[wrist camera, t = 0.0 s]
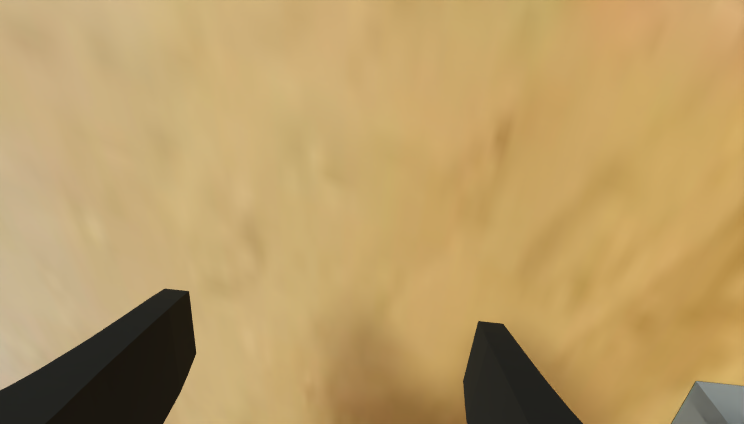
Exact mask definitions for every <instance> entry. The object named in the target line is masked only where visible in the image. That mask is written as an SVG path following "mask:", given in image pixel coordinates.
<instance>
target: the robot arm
mask: <svg viewBox="0 0 744 424" xmlns="http://www.w3.org/2000/svg"><path fill="white" fill-rule="evenodd" d="M195 355H196V347H195V338H194V330H193V321H192V313H191V304H190V296H189V291H182V290H172V289H163V290H162V291H160V292H159V293H157V294H155V295H154V296H152V297H151V298H149V299H148V300H146V301H145V302H143V303H142V304H140V305H139V306H138V307H136V308H135V309H133V310H132V311H130V312H129V313H127V314H126V315H124V316H123V317H121V318H120V319H118V320H117V321H115V322H114V323H112V324H111V325H109V326H108V327H106V328H105V329H103V330H102V331H100V332H99V333H97V334H96V335H94V336H93V337H91V338H90V339H88V340H86V341H85V342H83V343H82V344H80V345H78V346H77V347H75V348H73V349H72V350H70V351H68V352H67V353H65V354H64V355H62V356H60V357H59V358H57V359H55V360H54V361H52V362H50V363H49V364H47V365H45V366H44V367H42V368H41V369H39V370H37V371H35V372H34V373H32V374H30V375H28V376H26V377H25V378H23V379H21V380H19V381H17V382H16V383H14V384H12V385H10V386H8V387H6V388H4V389H2V390H0V424H163V423H164V421H165V419H166V418H167V416H168V414H169V412H170V410H171V408H172V407H173V405H174V403H175V401H176V399H177V398H178V396H179V394H180V392H181V390H182V387H183V385H184V383H185V380H186V378H187V376H188V373H189V371H190V368H191V365H192V363H193V360H194V358H195ZM463 384H464V397H465V409H466V419H467V424H583V423H582V422H581V421H580V420H579V419H578V418H577V417H576V415H575V414H574V413H573V412H572V411H571V410H570V409H569V408H568V406H567V405H566V404H565V403H564V402H563V401H562V399H561V398H560V397H559V396H558V394H557V393H556V392H555V391H554V389H553V388H552V387H551V386H550V385H549V383H548V382H547V381H546V380H545V378H544V377H543V376H542V375H541V373H540V372H539V371H538V369H537V368H536V367H535V366H534V364H533V363H532V362H531V360H530V359H529V358H528V356H527V355H526V354H525V352H524V351H523V350H522V348H521V347H520V346H519V344H518V343H517V342H516V340H515V339H514V338H513V336H512V335H511V334H510V332H509V331H508V330H507V328H506V327H505V326H504V324H500V323H491V322H481V321H478V325H477V329H476V333H475V336H474V340H473V344H472V348H471V352H470V356H469V360H468V364H467V368H466V372H465V376H464V380H463Z"/></svg>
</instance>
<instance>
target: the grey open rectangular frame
mask: <svg viewBox="0 0 744 424" xmlns="http://www.w3.org/2000/svg"><path fill="white" fill-rule="evenodd" d="M672 424H744V386H737V385H727V384H718V383H708V382H699V381H696V382H695V384H694V386H693V387H692V389H691V391H690V393H689V394H688V396H687V398H686V400H685V401H684V403H683V405H682V406H681V408H680V410H679V412H678V413H677V415H676V417H675V419H674V420H673V422H672Z"/></svg>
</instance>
